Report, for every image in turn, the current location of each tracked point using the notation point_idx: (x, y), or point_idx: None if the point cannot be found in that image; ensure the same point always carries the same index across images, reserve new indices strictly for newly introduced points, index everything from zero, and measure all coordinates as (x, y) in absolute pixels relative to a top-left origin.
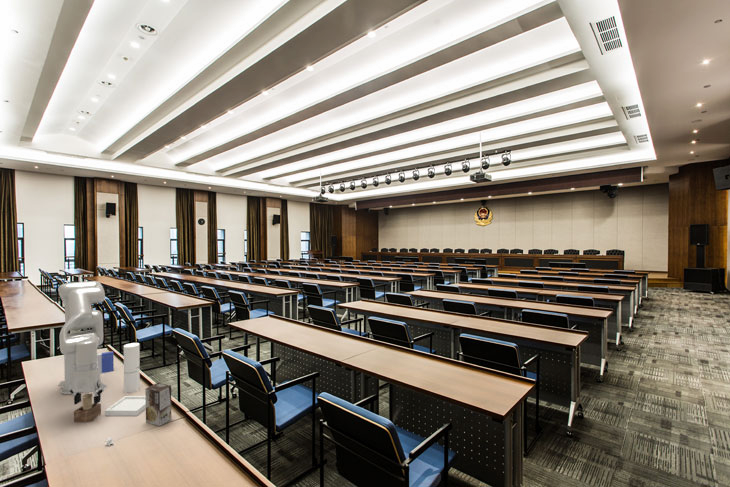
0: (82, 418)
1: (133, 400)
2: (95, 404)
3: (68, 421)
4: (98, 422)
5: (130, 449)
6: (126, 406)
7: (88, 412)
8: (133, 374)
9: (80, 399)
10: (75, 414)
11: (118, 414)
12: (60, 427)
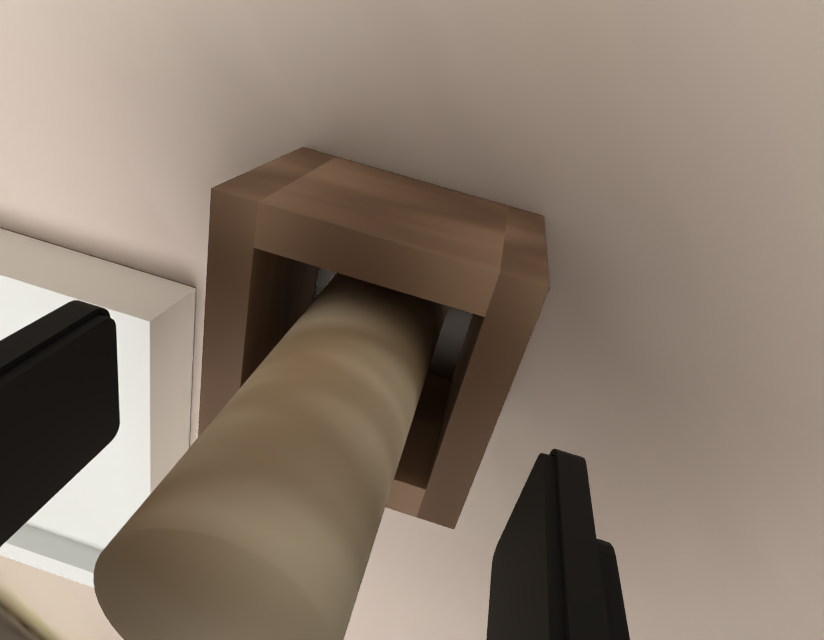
0: (392, 192)
1: None
2: (81, 307)
3: (637, 266)
4: (166, 105)
5: None
6: None
7: (238, 190)
8: None
9: (496, 590)
10: (509, 249)
11: (5, 239)
12: (702, 82)
